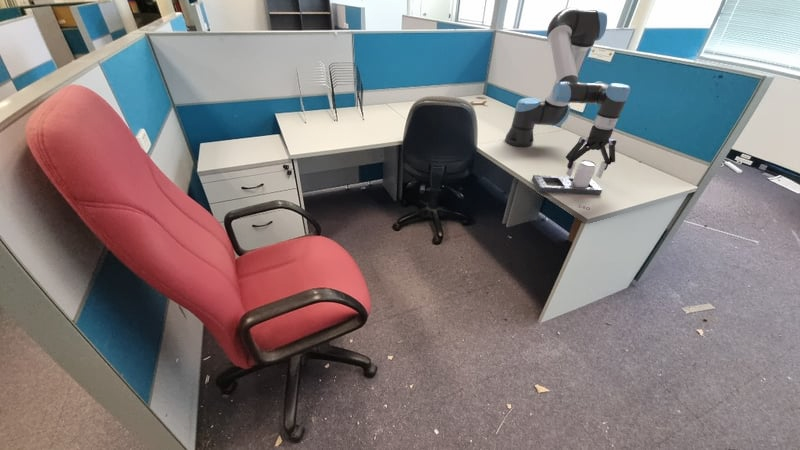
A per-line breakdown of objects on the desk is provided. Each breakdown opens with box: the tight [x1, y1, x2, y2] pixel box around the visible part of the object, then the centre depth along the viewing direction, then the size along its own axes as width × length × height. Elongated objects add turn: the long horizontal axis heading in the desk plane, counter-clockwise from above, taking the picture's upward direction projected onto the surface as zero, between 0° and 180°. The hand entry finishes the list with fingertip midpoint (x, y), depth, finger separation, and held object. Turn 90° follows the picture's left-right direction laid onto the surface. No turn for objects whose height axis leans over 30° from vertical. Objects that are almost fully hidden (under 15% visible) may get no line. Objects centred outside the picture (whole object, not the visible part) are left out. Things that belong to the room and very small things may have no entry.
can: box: [572, 159, 596, 187], centre depth 142 cm, size 6×6×12 cm
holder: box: [531, 174, 603, 196], centre depth 144 cm, size 11×26×2 cm, turn 88°
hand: (583, 175), depth 142 cm, fingers open, 12 cm apart
